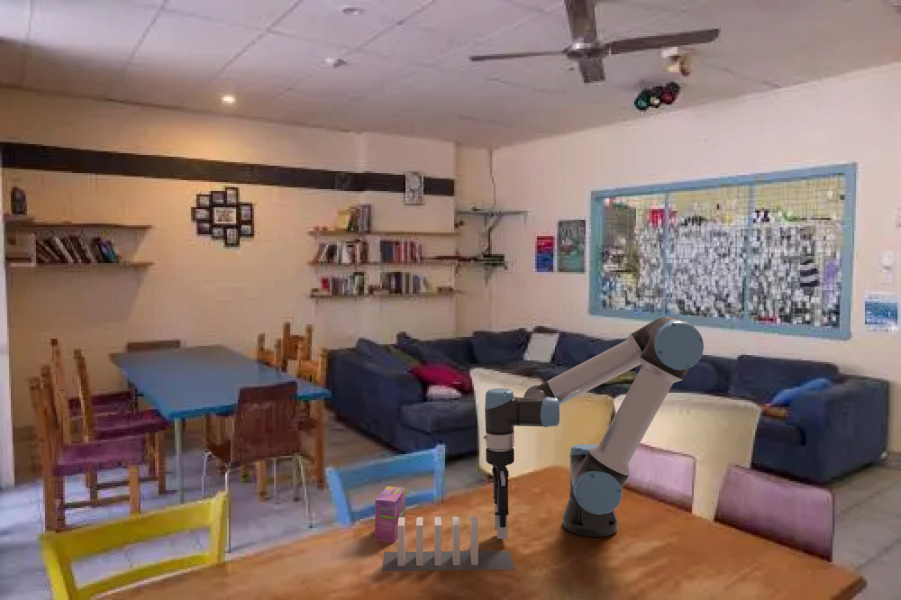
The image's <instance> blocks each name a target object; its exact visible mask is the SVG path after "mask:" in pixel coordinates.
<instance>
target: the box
mask: <svg viewBox="0 0 901 600" xmlns="http://www.w3.org/2000/svg"><path fill="white" fill-rule="evenodd" d="M406 492H407V490H406V487H403V486H402V487H399V486H389V485H386V486H385V488H383V490H382V491H381V492H380V493H379V495H378V496H377V497H376V499H375V502H374V503H375V504H374V505H375V506H374V541H375V542H383V543H396V542H397V541H398V518H399V517H405V518H406V494H407V493H406Z"/></svg>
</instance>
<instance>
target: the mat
mask: <svg viewBox="0 0 901 600" xmlns="http://www.w3.org/2000/svg"><path fill="white" fill-rule="evenodd" d="M382 559H383V560H382V564H381V565H382V567H381V572H422V571H424V572H425V571H426V572H427V571H430V572H431V571H433V572H435V571H438V572H439V571H509V570H510V571H512V570H513V571H515V570H516V568H515V565H514V562H513V558H512V555H511V552H510V550H478V565H471V558H470V550H460V565H453V559H452V550H450V551H449V550H448V551H447V550H446V551H443V550H441V565H435V561H434V551H423V566H416V551H405V561H404V566H398V551H384V552H383V558H382Z"/></svg>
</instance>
